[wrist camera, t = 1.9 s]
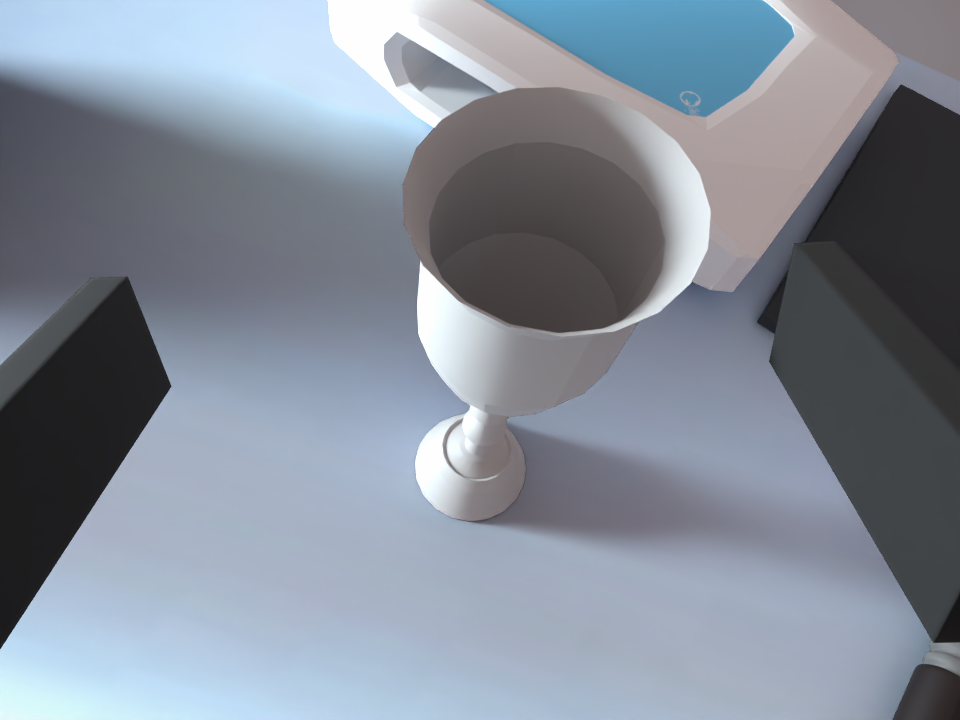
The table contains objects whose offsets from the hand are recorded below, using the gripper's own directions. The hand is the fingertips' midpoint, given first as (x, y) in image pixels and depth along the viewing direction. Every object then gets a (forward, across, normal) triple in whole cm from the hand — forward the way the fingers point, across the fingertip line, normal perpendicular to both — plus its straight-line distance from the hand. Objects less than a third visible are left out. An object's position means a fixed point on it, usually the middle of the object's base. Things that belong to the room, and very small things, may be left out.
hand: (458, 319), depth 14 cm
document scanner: (+34, +7, -4) cm, 35 cm away
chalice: (+11, -1, -14) cm, 18 cm away
